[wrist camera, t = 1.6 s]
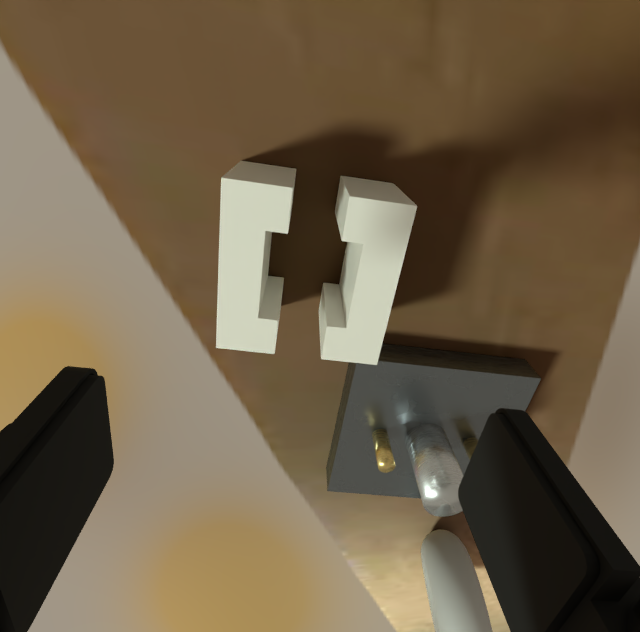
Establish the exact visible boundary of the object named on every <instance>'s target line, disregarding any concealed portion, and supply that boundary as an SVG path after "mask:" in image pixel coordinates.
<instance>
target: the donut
mask: <svg viewBox="0 0 640 632" xmlns="http://www.w3.org/2000/svg"><path fill="white" fill-rule="evenodd" d="M421 558H422V566H423V572H424V578H425V584H426V589H427V594H428V599H429V604H430V609H431V614H432V619H433V623H434V628H435V632H492V628H491V624H490V619H489V615H488V611H487V607H486V604H485V600H484V596H483V593H482V590H481V587H480V583H479V580H478V577H477V574H476V571H475V568H474V566H473V563H472V560H471V558H470V555H469V553H468V551H467V549H466V547H465V546H464V544H463V543H462V542H461V540H460V539H459V538H458V537H457V536H456V535H455V534H453V533H452V532H450V531H447V530H439V529H438V530H435V531H432V532H431V533H429V534H428V535H427V536H426V538H425V539H424V541H423V543H422V548H421Z"/></svg>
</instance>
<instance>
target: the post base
mask: <svg viewBox="0 0 640 632" xmlns="http://www.w3.org/2000/svg"><path fill="white" fill-rule="evenodd" d="M540 380H541V378H540V377H539V375H538V374H537V373H536V372H535V371H534V369H533V368H532V367H531V366H530V365H529V364H528V362H527V361H526V360H525V359H517V358H508V357H499V356H490V355H481V354H472V353H463V352H454V351H446V350H437V349H428V348H419V347H410V346H401V345H392V344H383V343H382V347H381V351H380V355H379V359H378V363H377V365H372V364H362V363H353V362H349V365H348V370H347V374H346V379H345V384H344V388H343V393H342V398H341V402H340V407H339V412H338V416H337V421H336V425H335V430H334V435H333V439H332V444H331V449H330V453H329V458H328V463H327V467H326V470H327V491H334V492H346V493H359V494H372V495H385V496H398V497H410V498H421V499H422V502H423V506H424V508H425V510H426V511H427V512H428V513H430V514H432V515H435V516H442V517H444V516H452V515H455V514H458V513H460V512H462V511H463V510H462V507H461V505H460V502H459V498H458V488H459V485H460V483H461V480H462V478H463V476H464V473H465V471H466V469H467V466H468V464H469V462H470V459H471V457H472V455H473V452H474V450H475V448H476V445H477V443H478V440H479V438H480V436H481V433H482V431H483V429H484V426H485V424H486V422H487V419H488V417H489V415H490V414H492V413H495V412H496V410H498V409H499V408H506V409H517V410H523V411H526V409H527V407H528V404H529V402H530V400H531V398H532V396H533V394H534V392H535V390H536V388H537V386H538V384H539V382H540Z"/></svg>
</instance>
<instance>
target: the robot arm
mask: <svg viewBox="0 0 640 632" xmlns="http://www.w3.org/2000/svg"><path fill="white" fill-rule="evenodd" d="M113 464H114V459H113V449H112V440H111V432H110V423H109V414H108V406H107V396H106V388H105V381H104V378H103V376H98V375H97V372H96V371H95V369H91V368H80V367H70V366H68V367H65V368H64V369H62V370H61V371H60V372H59V374H58V375H57V376H56V377H55V378H54V379H53V380H52V381H51V382H50V383H49V384H48V385H47V386H46V387H45V388H44V390H43V391H42V392H41V393H40V394H39V395H38V396H37V397H36V398H35V399H34V400H33V401H32V402H31V403H30V404H29V406H28V407H27V408H26V409H25V410H24V411H23V412H22V413H21V414H20V415H19V416H18V417H17V419H15V420H14V422H13V423H11V424H9V425H7V426H6V427H5V428H4V429H3V430H1V431H0V632H27V631H28V629H29V628H30V626H31V624H32V623H33V621H34V619H35V617H36V615H37V613H38V611H39V609H40V608H41V606H42V604H43V602H44V600H45V598H46V596H47V594H48V592H49V591H50V589H51V587H52V585H53V583H54V581H55V579H56V577H57V576H58V573H59V572H60V570H61V568H62V566H63V564H64V562H65V560H66V559H67V557H68V555H69V553H70V551H71V549H72V547H73V545H74V543H75V542H76V540H77V537H78V536H79V534H80V532H81V530H82V528H83V527H84V525H85V523H86V521H87V519H88V517H89V515H90V513H91V512H92V510H93V508H94V506H95V504H96V502H97V500H98V498H99V497H100V495H101V493H102V491H103V489H104V487H105V485H106V483H107V481H108V480H109V478H110V475H111V473H112V470H113ZM458 498H459V502H460V505H461V507H462V510H463V512H464V515H465V517H466V520H467V522H468V525H469V527H470V530H471V532H472V535H473V537H474V540H475V543H476V545H477V548H478V550H479V553H480V555H481V558H482V560H483V563H484V565H485V568H486V570H487V573H488V575H489V578H490V580H491V583H492V585H493V588H494V590H495V593H496V595H497V598H498V601H499V603H500V606H501V608H502V611H503V613H504V616H505V618H506V621H507V623H508V626H509V628H510V631H511V632H640V566H639V565H638V563H637V562H636V561H635V559H634V558H633V557H632V555H631V554H630V553H629V551H628V550H627V548H626V547H625V546H624V544H623V543H622V542H621V540H620V539H619V537H617V535H616V533H615V532H614V531H613V529H612V528H611V527H610V525H609V524H608V523H607V521H606V520H605V519H604V517H603V516H602V514H601V513H600V512H599V510H598V509H597V508H596V507H595V505H594V504H593V502H592V501H591V499H590V498H589V497H588V496H587V494H586V493H585V491H584V490H583V489H582V487H581V486H580V485H579V483H578V482H577V481H576V479H575V478H574V476H573V475H572V474H571V472H570V471H569V470H568V468H567V467H566V465H565V464H564V463H563V461H562V460H561V459H560V457H559V456H558V455H557V453H556V452H555V451H554V449H553V448H552V446H551V445H550V444H549V442H548V441H547V440H546V438H545V437H544V436H543V434H542V433H541V432H540V430H539V429H538V427H537V426H536V425H535V423H534V422H533V421H532V419H531V418H530V417H529V415H528V414H527V413H526V412H525V411H523V410H517V409H506V408H499V409H498V410H496V412H495V413H492V414H490V415H489V417H488V419H487V422H486V424H485V426H484V429H483V431H482V433H481V436H480V438H479V440H478V443H477V445H476V448H475V450H474V452H473V455H472V457H471V459H470V462H469V464H468V466H467V469H466V471H465V473H464V476H463V478H462V480H461V483H460V485H459V488H458Z"/></svg>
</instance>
